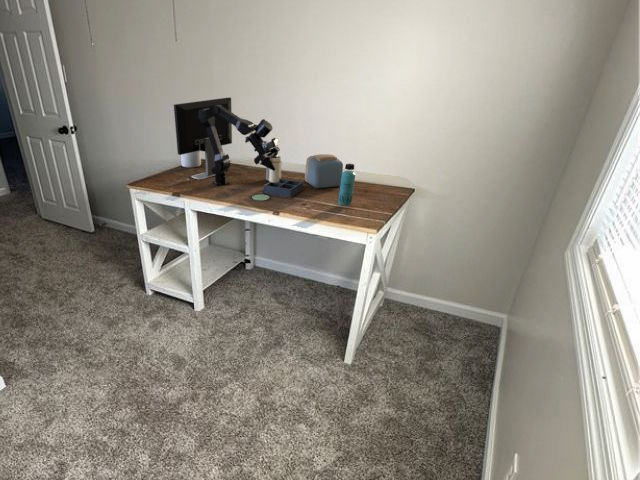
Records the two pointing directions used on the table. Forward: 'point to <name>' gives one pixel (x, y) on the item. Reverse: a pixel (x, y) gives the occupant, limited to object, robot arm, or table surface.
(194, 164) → the cylinder vase
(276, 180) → the pen pot
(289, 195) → the organizer
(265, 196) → the coaster
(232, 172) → the table surface
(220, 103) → the computer monitor
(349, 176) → the beverage bottle
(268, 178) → the cup
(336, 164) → the blue rounded cube
